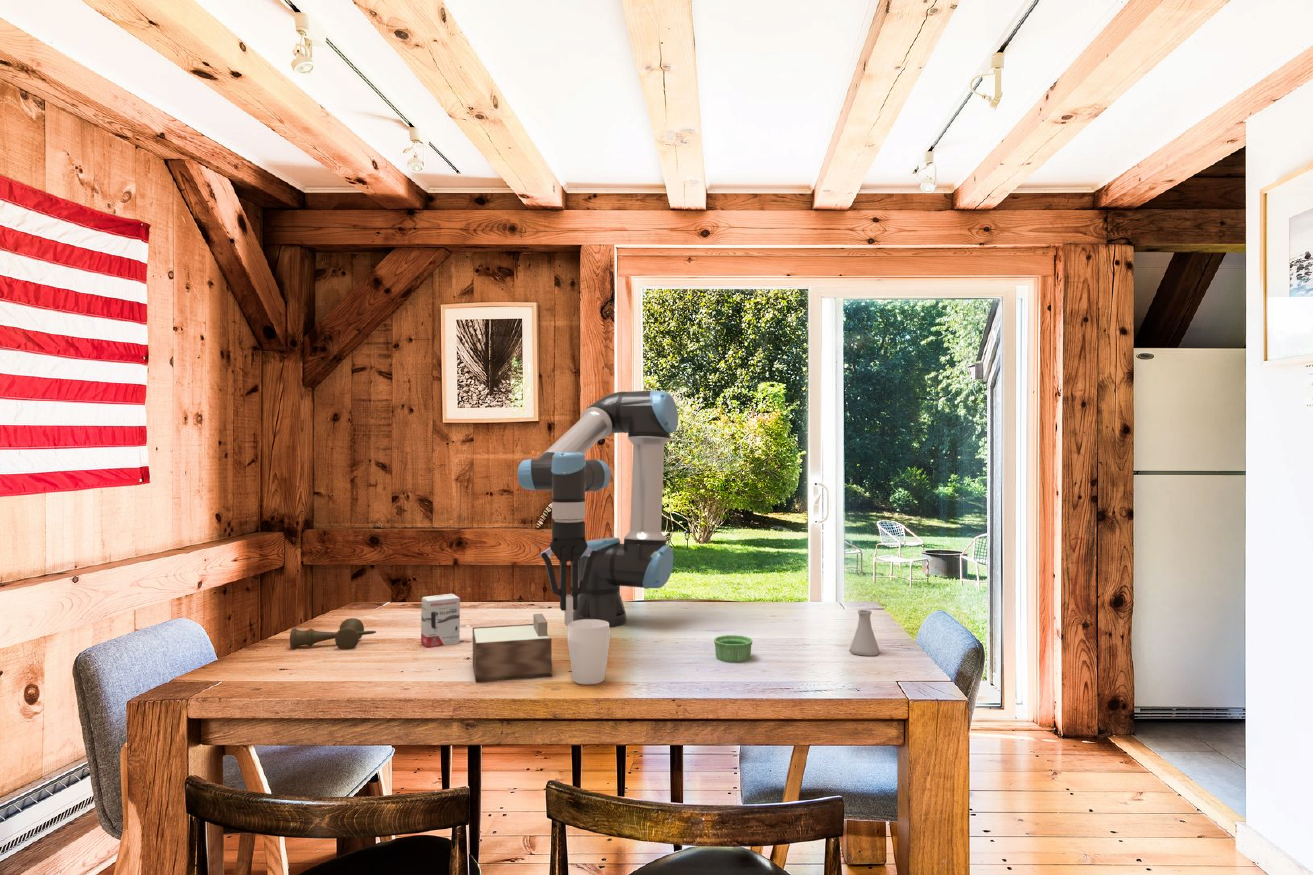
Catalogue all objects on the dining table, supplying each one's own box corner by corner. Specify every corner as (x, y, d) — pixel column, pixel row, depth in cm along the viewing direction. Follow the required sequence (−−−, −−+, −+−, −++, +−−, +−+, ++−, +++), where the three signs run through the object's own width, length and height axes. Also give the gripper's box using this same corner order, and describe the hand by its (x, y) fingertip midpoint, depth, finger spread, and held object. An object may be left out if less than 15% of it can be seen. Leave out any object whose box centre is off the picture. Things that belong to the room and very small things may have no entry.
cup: (567, 674, 176) (567, 619, 176) (609, 673, 177) (609, 618, 177) (566, 687, 167) (566, 629, 167) (610, 686, 168) (610, 628, 168)
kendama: (295, 645, 204) (378, 638, 209) (286, 656, 195) (374, 649, 199) (294, 622, 204) (377, 615, 208) (285, 632, 195) (373, 625, 199)
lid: (542, 628, 189) (542, 611, 189) (550, 641, 176) (550, 624, 176) (473, 632, 185) (473, 615, 185) (476, 646, 172) (476, 628, 172)
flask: (881, 650, 196) (881, 609, 196) (879, 658, 190) (879, 615, 190) (850, 647, 199) (850, 607, 199) (847, 655, 192) (847, 613, 192)
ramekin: (727, 665, 184) (727, 646, 184) (706, 656, 192) (706, 637, 192) (760, 660, 188) (760, 641, 188) (738, 651, 196) (738, 633, 196)
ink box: (426, 648, 199) (426, 600, 199) (420, 644, 203) (420, 596, 203) (460, 643, 204) (460, 596, 204) (453, 639, 208) (453, 593, 208)
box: (542, 658, 190) (542, 623, 190) (551, 676, 175) (551, 638, 175) (472, 663, 185) (472, 627, 185) (475, 682, 171) (475, 643, 171)
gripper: (593, 518, 189) (593, 619, 189) (537, 519, 186) (537, 622, 185) (600, 521, 182) (600, 626, 182) (541, 522, 178) (542, 630, 178)
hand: (568, 624), depth 184 cm, fingers closed
